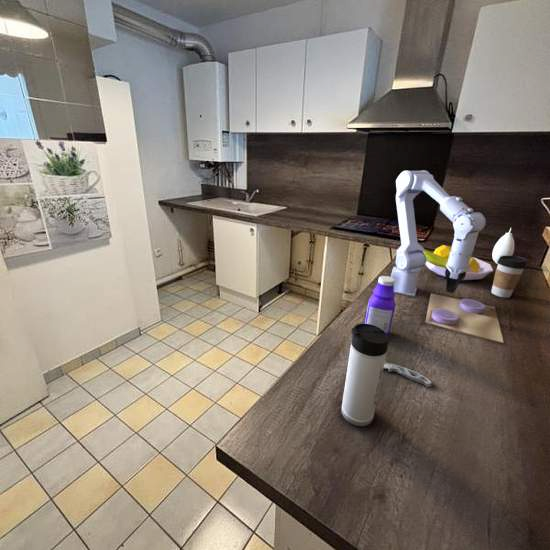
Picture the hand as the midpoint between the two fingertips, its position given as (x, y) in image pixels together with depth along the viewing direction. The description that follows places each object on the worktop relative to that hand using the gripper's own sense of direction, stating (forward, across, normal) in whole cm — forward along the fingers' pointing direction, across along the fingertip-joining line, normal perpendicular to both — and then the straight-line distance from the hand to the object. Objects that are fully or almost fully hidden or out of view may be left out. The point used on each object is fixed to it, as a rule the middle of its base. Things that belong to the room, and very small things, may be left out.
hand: (449, 291), depth 95 cm
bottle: (+8, -26, +15) cm, 31 cm away
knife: (+8, -41, +7) cm, 42 cm away
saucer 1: (+7, -6, 0) cm, 9 cm away
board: (+7, 0, -5) cm, 9 cm away
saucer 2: (+7, +7, -7) cm, 12 cm away
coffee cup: (+8, +27, -16) cm, 32 cm away
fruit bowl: (+8, +40, +2) cm, 41 cm away
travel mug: (+8, -58, +9) cm, 59 cm away
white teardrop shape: (-1, +69, -16) cm, 71 cm away
